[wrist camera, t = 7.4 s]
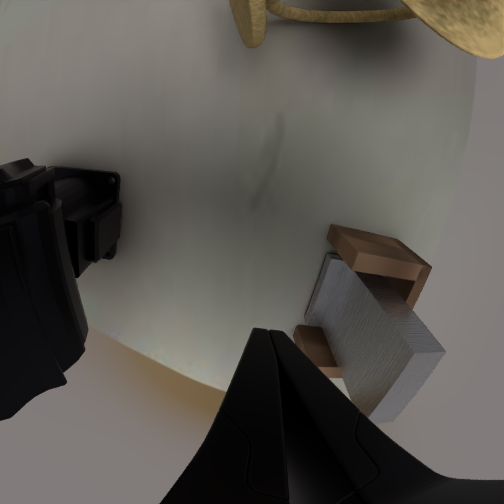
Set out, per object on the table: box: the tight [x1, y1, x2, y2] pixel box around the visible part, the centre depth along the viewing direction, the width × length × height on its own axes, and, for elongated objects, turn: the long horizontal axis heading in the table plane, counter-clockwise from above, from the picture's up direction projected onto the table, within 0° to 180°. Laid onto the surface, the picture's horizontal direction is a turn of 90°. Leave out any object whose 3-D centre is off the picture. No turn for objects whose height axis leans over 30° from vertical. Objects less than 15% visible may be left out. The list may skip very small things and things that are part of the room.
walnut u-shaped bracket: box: [293, 224, 432, 378], centre depth 21 cm, size 6×10×5 cm, turn 168°
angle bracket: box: [305, 253, 446, 424], centre depth 18 cm, size 5×6×11 cm
